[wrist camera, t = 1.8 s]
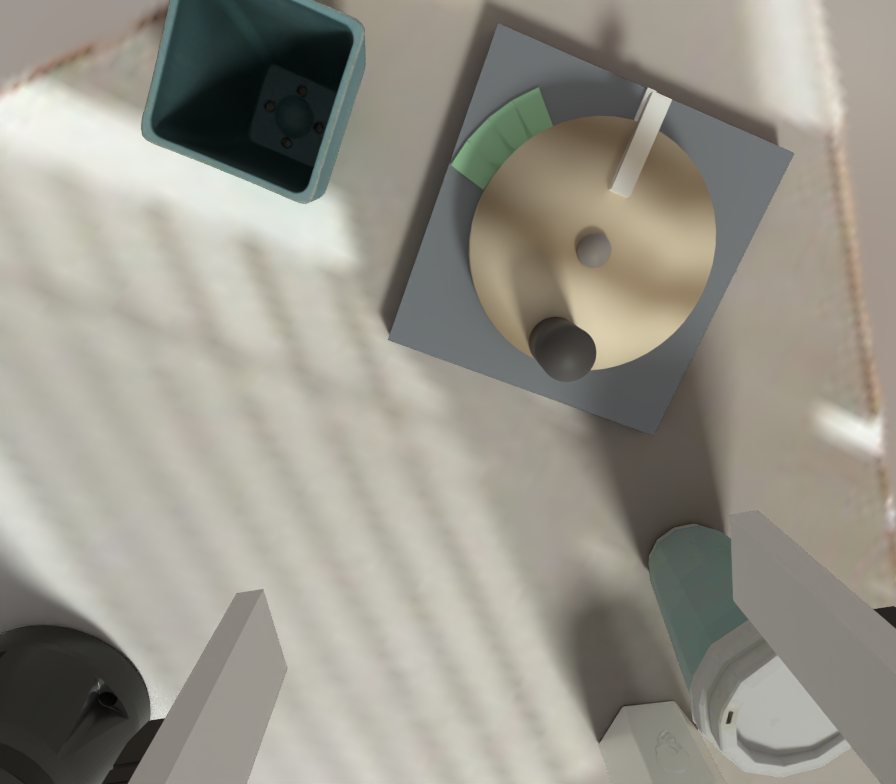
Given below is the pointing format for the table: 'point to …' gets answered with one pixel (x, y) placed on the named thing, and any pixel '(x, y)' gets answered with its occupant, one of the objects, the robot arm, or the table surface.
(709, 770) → the jar
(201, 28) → the flower pot
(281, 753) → the table surface
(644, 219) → the dial
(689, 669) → the disposable coffee cup
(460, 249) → the tuner base
